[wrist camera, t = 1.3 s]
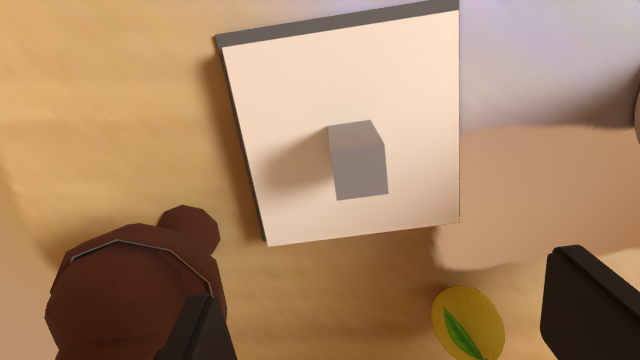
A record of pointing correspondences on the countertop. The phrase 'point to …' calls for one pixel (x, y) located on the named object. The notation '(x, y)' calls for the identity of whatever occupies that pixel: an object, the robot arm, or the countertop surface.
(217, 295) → the ice cream bowl
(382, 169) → the lid
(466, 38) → the countertop surface
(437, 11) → the mat
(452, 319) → the lemon
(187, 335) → the robot arm
